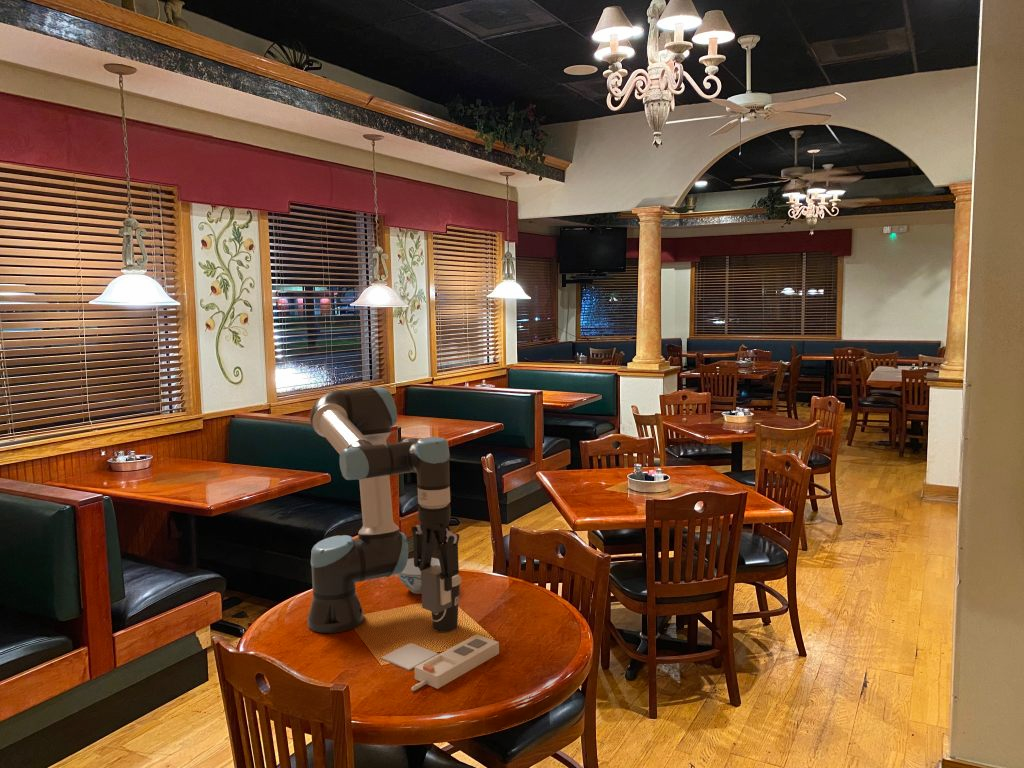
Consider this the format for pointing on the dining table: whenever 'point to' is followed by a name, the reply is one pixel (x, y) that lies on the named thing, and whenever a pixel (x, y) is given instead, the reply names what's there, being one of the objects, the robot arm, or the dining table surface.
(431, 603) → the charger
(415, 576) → the chinaware
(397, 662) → the pad
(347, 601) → the robot arm
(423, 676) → the power strip
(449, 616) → the coffee cup
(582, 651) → the dining table surface
